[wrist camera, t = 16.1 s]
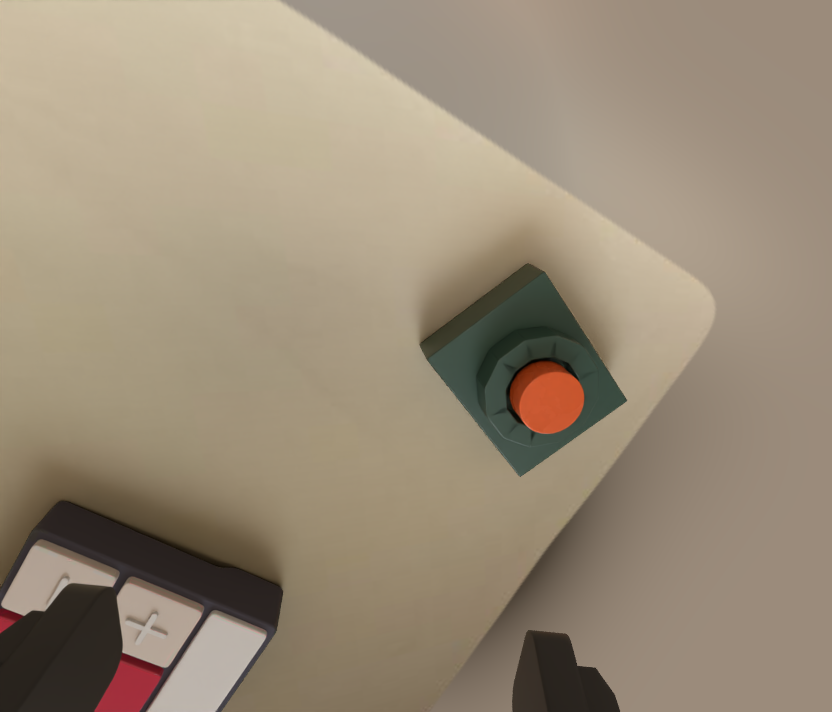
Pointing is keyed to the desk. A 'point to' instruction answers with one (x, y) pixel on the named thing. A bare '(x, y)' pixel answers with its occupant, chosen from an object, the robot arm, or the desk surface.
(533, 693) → the robot arm
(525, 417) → the orange button
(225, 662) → the calculator
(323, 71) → the desk surface
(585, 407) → the control block
